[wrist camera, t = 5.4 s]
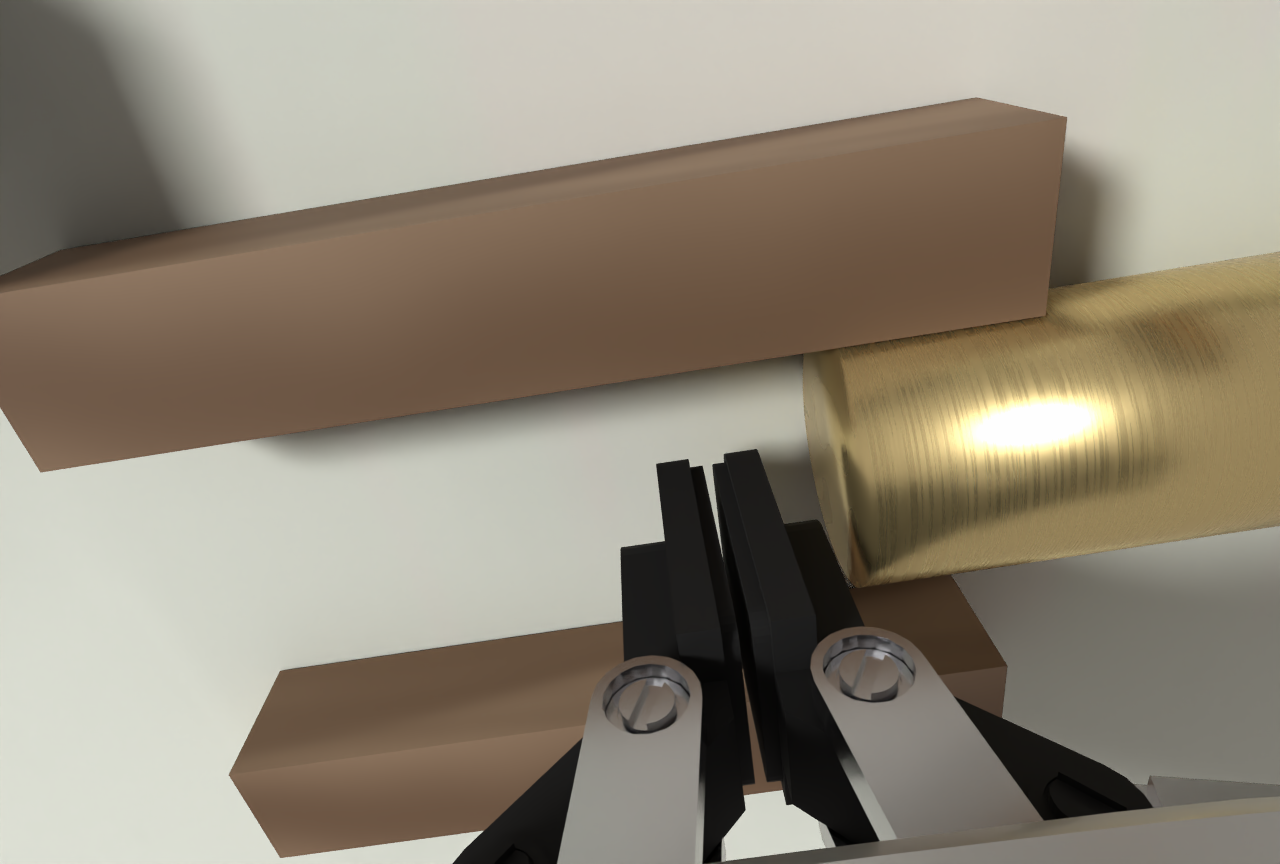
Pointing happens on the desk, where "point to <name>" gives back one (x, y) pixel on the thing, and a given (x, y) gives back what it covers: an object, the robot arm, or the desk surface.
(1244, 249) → the desk surface
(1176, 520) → the axle
